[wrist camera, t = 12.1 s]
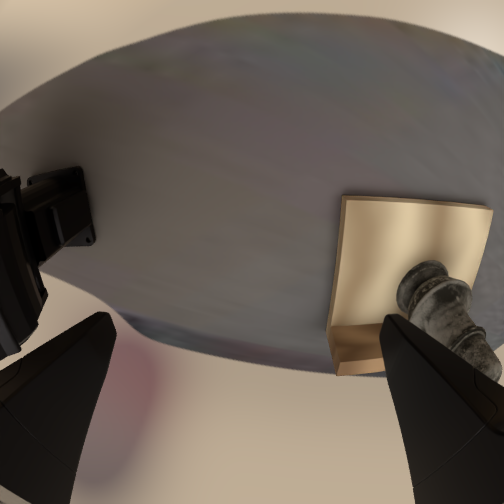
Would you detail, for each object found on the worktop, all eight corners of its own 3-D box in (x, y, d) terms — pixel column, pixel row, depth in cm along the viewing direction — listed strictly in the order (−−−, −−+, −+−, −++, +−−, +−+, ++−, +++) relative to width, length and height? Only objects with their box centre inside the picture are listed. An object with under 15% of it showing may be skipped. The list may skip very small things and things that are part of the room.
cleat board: (325, 331, 24) (336, 376, 19) (341, 195, 18) (367, 221, 14) (451, 318, 23) (474, 351, 18) (485, 205, 18) (523, 228, 13)
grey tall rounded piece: (415, 326, 22) (468, 433, 11) (379, 296, 21) (440, 424, 10) (460, 280, 20) (535, 375, 9) (430, 242, 18) (527, 348, 8)
